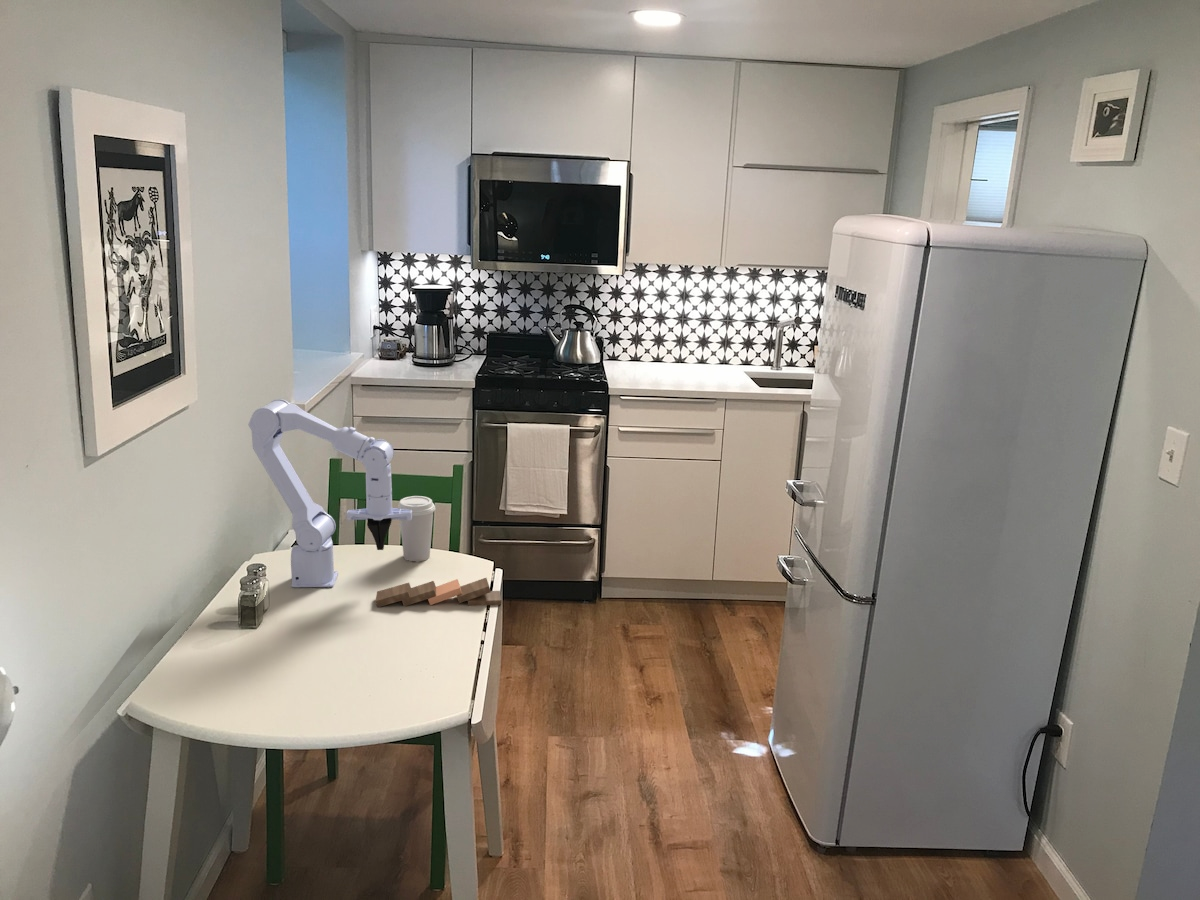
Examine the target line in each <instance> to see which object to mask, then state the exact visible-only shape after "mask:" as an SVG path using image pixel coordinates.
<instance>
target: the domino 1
mask: <svg viewBox="0 0 1200 900" xmlns="http://www.w3.org/2000/svg"><path fill="white" fill-rule="evenodd" d="M411 588H412V587H411V583H410V582H407V583H406V582H405V583H403V584H402V583H401V584H399V585H395V586H391V587H388V588H384V589H381V590H377V591H376V595H375V596H376V597H375V604H376V607H377V608H380V607H383V606H387V605H391V604H394V603H397V602H401V601H402V600H405V599H408V598H410V594H411Z"/></svg>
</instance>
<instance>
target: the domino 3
mask: <svg viewBox="0 0 1200 900" xmlns="http://www.w3.org/2000/svg"><path fill="white" fill-rule="evenodd" d="M460 586H461V585H460V582H459V579H458V578H457V579H454V580H451V581H448V582H446V583H443V584H440V585H437V586H436V596H435V597H432V598H429V599H427V600H428V603H429V606H432V605H435V604H438V603H440V602H443V601H446V600H448V599H451V598H455V597H457V595H460V594H462V592H461V588H460Z"/></svg>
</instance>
